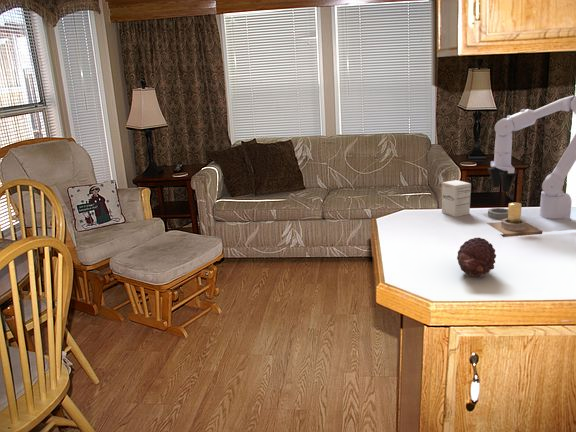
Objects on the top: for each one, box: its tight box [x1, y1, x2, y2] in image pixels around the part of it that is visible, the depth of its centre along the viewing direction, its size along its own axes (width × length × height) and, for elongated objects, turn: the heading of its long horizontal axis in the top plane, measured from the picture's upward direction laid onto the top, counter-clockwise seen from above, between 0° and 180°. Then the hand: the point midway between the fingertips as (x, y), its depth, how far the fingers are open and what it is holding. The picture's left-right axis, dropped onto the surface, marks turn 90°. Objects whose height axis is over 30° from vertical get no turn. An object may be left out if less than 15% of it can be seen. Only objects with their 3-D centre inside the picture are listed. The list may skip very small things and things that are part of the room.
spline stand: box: [482, 207, 508, 222], centre depth 198 cm, size 9×9×3 cm
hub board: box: [486, 218, 543, 238], centre depth 185 cm, size 13×13×3 cm
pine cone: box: [456, 237, 497, 278], centre depth 149 cm, size 18×10×10 cm, turn 160°
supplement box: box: [441, 179, 472, 217], centre depth 203 cm, size 7×7×13 cm
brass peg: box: [507, 202, 522, 224], centre depth 184 cm, size 4×4×8 cm
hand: (500, 189), depth 202 cm, fingers open, 7 cm apart
